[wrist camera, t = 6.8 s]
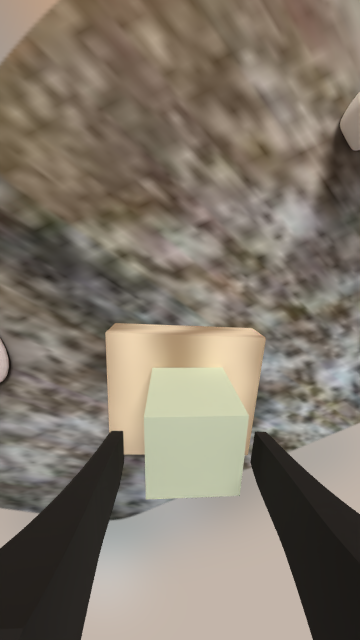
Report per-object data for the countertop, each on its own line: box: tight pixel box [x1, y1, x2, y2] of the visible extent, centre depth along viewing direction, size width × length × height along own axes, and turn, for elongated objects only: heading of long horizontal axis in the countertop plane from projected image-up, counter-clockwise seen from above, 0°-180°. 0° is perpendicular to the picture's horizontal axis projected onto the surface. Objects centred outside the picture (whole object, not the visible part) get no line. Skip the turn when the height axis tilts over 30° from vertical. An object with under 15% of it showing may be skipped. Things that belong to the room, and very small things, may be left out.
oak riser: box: [106, 323, 266, 455], centre depth 17 cm, size 11×10×3 cm
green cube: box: [144, 367, 249, 499], centre depth 13 cm, size 5×5×5 cm
